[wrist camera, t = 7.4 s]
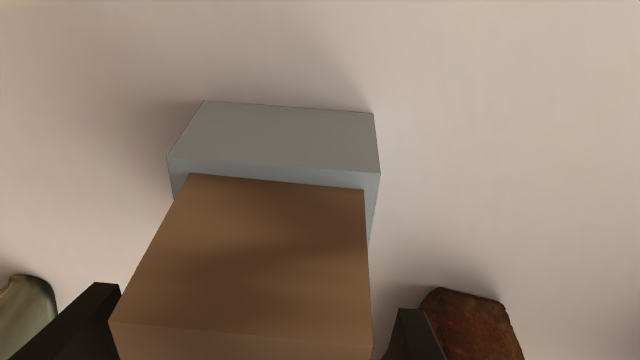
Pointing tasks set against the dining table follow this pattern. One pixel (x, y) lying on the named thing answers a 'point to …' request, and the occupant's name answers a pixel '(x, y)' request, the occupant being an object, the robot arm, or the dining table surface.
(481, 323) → the brick
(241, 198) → the walnut cube
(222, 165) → the slate block
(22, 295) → the tan tapered stone
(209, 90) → the dining table surface
